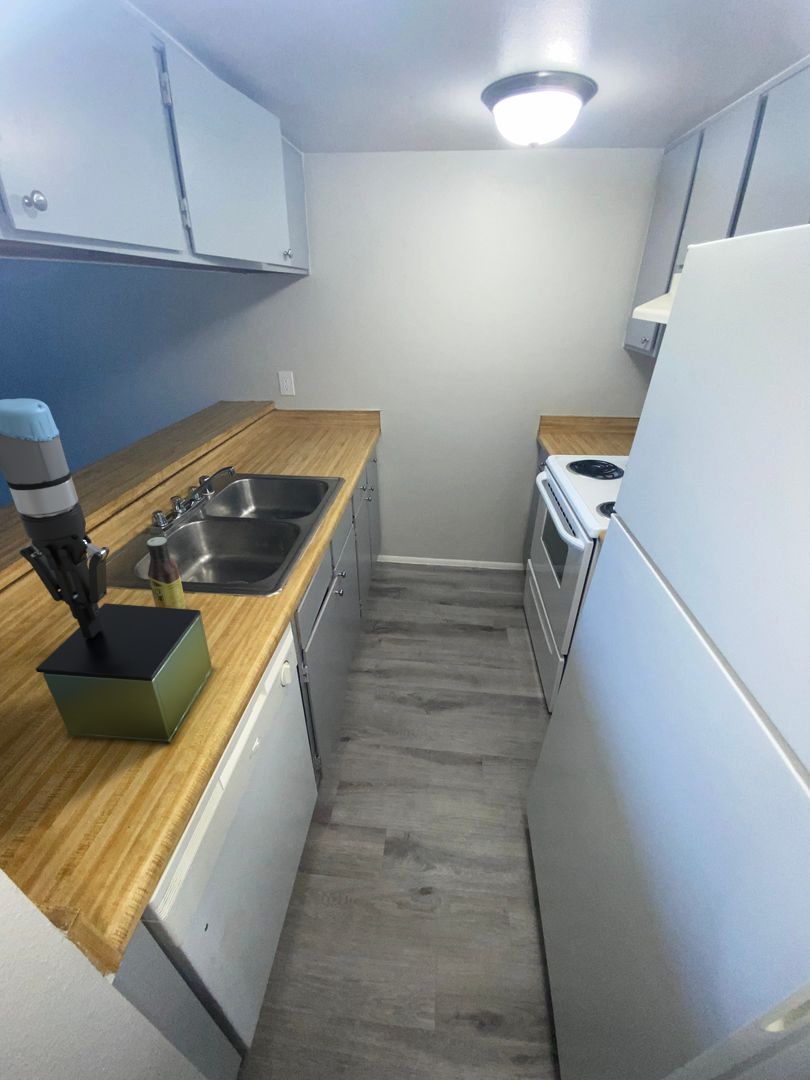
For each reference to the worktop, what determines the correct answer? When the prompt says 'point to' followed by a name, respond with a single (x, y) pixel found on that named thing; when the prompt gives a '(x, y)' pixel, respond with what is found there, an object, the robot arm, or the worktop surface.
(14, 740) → the worktop surface
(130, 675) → the box lid
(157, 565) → the sauce bottle
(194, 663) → the green open box
